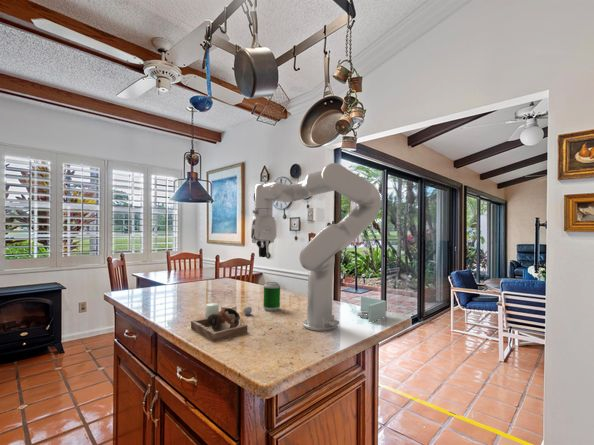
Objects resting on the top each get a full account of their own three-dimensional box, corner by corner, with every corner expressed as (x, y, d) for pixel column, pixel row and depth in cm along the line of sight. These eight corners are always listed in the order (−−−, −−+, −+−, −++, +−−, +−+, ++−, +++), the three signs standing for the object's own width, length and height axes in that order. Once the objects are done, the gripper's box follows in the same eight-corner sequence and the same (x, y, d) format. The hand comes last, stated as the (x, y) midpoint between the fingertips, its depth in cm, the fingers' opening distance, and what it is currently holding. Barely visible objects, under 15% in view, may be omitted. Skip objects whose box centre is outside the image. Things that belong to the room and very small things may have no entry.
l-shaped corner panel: (361, 312, 139) (362, 296, 139) (385, 318, 130) (386, 301, 130) (346, 317, 130) (346, 300, 131) (370, 324, 122) (371, 305, 122)
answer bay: (247, 332, 109) (247, 325, 109) (213, 341, 100) (213, 333, 100) (223, 320, 121) (223, 314, 121) (190, 327, 112) (191, 320, 112)
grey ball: (253, 314, 131) (253, 306, 131) (246, 316, 128) (246, 307, 128) (248, 312, 133) (248, 304, 133) (241, 314, 131) (241, 305, 131)
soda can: (279, 311, 136) (279, 284, 136) (262, 311, 136) (262, 284, 136) (280, 307, 143) (280, 281, 143) (264, 307, 143) (264, 281, 143)
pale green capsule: (220, 320, 123) (220, 305, 123) (209, 322, 119) (209, 307, 119) (214, 317, 126) (214, 302, 126) (203, 319, 123) (203, 304, 123)
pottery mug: (225, 323, 120) (235, 306, 119) (235, 340, 113) (246, 322, 112) (198, 322, 111) (209, 303, 110) (208, 340, 105) (219, 321, 104)
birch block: (236, 316, 127) (236, 306, 128) (228, 319, 124) (228, 308, 124) (228, 315, 130) (228, 304, 130) (220, 317, 126) (220, 306, 126)
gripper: (253, 212, 121) (253, 258, 121) (282, 214, 131) (282, 256, 131) (243, 212, 127) (242, 257, 126) (272, 214, 137) (271, 255, 136)
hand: (262, 256), depth 129 cm, fingers closed
